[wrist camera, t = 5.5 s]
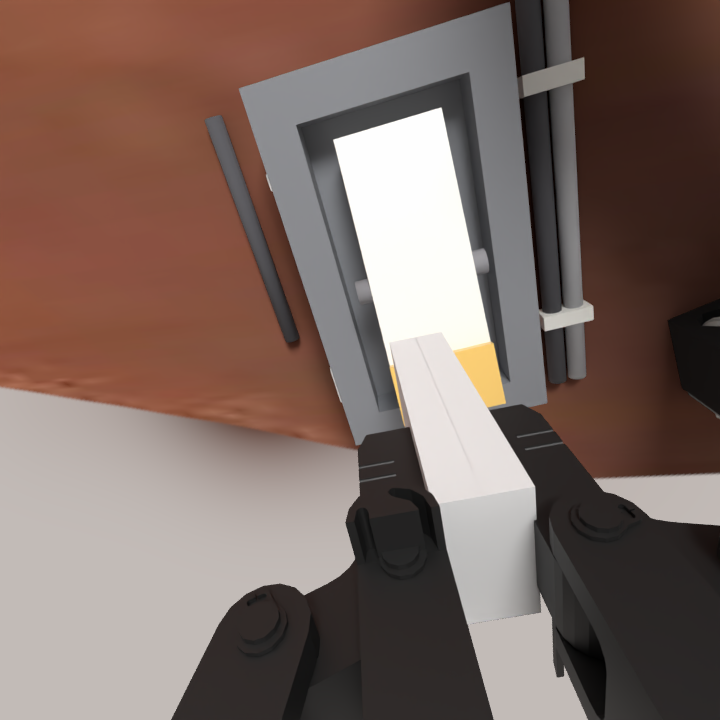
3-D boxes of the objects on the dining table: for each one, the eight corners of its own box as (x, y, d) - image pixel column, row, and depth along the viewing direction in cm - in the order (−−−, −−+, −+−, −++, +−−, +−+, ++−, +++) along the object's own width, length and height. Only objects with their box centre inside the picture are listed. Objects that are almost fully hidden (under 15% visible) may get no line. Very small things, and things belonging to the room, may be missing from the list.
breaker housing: (260, 104, 25) (233, 90, 19) (474, 37, 23) (509, 1, 18) (353, 398, 33) (352, 446, 28) (514, 360, 32) (547, 403, 26)
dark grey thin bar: (207, 121, 25) (202, 120, 24) (223, 116, 25) (218, 114, 24) (286, 338, 31) (284, 343, 30) (300, 334, 31) (298, 340, 30)
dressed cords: (503, -20, 22) (512, -31, 21) (566, -40, 22) (580, -53, 21) (542, 378, 32) (550, 388, 31) (585, 368, 32) (595, 377, 31)
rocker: (323, 154, 21) (316, 140, 19) (451, 116, 21) (459, 97, 19) (391, 419, 24) (391, 432, 21) (508, 392, 23) (521, 404, 21)
